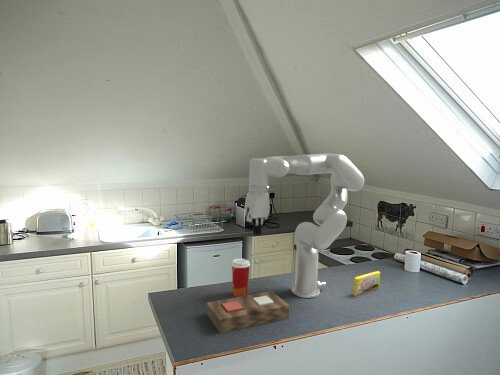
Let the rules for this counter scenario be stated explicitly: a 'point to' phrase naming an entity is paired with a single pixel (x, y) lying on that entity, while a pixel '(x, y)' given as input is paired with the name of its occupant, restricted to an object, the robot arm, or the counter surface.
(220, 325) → the panel
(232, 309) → the red key
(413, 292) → the counter surface
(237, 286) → the coffee cup
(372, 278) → the candy box
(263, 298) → the white key
